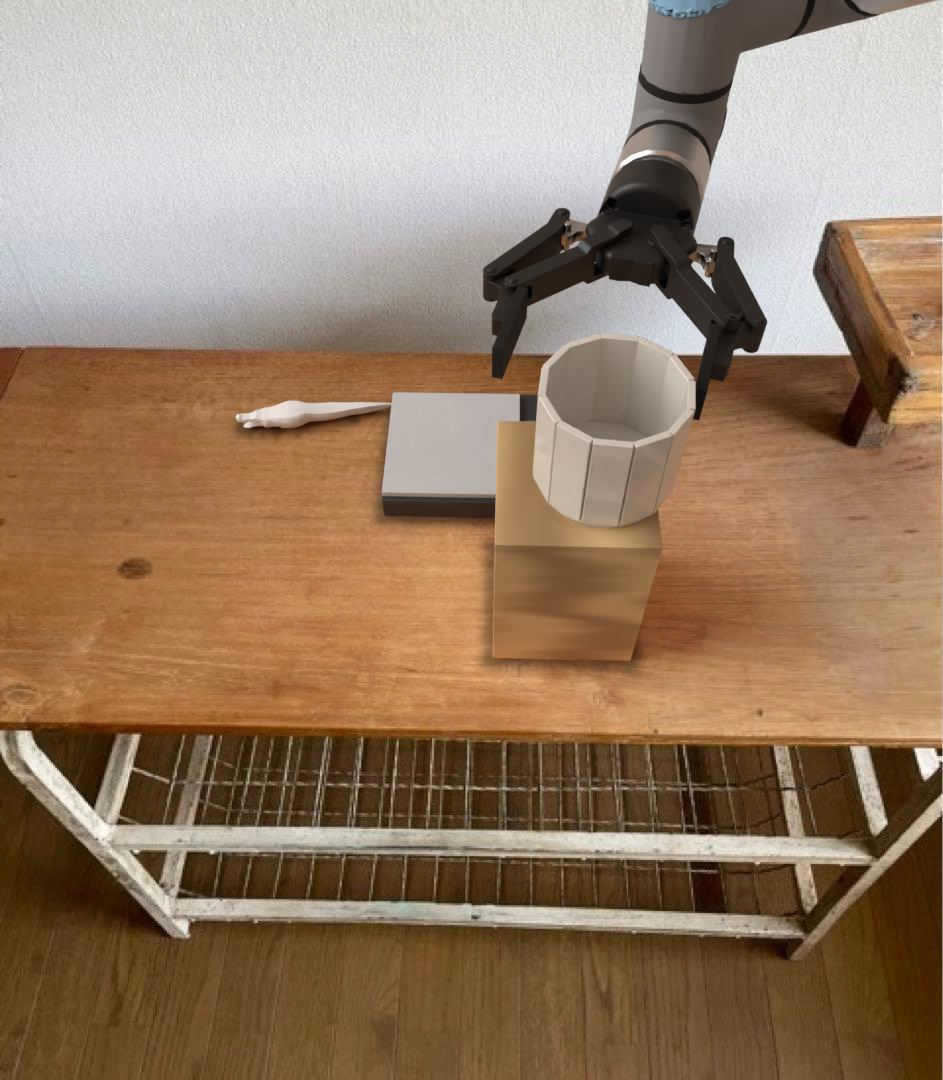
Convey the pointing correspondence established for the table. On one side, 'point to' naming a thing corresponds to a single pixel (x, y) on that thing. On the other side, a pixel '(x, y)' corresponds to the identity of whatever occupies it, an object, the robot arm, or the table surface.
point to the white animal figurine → (305, 413)
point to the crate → (563, 569)
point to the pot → (611, 428)
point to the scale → (446, 452)
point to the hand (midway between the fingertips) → (595, 384)
